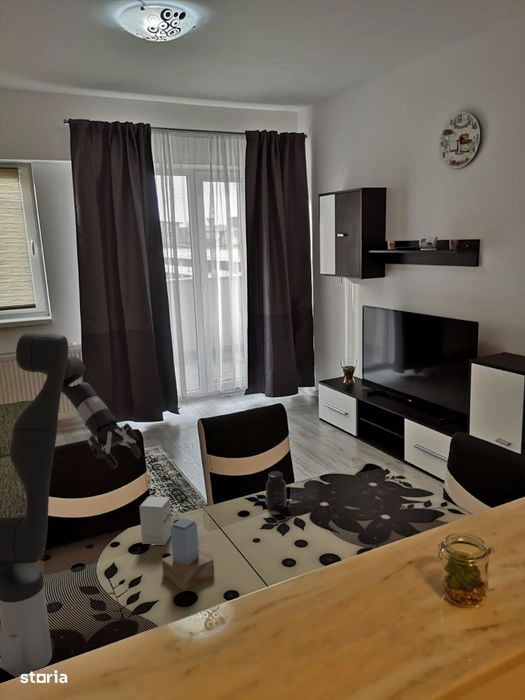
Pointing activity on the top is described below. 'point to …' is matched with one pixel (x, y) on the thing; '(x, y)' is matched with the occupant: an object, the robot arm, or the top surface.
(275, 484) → the supplement bottle
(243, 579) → the top surface
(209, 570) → the walnut box
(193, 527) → the pale blue upright prism
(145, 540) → the supplement box
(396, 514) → the top surface
